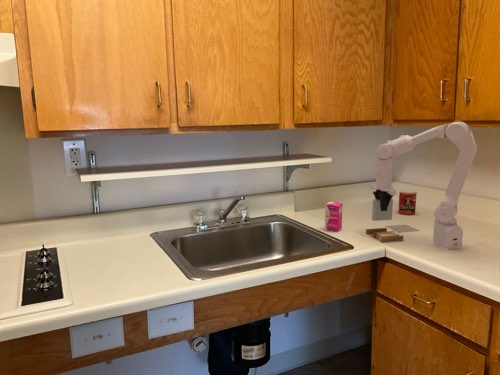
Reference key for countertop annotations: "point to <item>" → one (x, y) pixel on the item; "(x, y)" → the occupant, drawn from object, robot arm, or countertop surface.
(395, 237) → the walnut rack
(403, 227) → the rubber mat
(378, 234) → the upper offcut
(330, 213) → the supplement box
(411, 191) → the canned food
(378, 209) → the grey square slab
